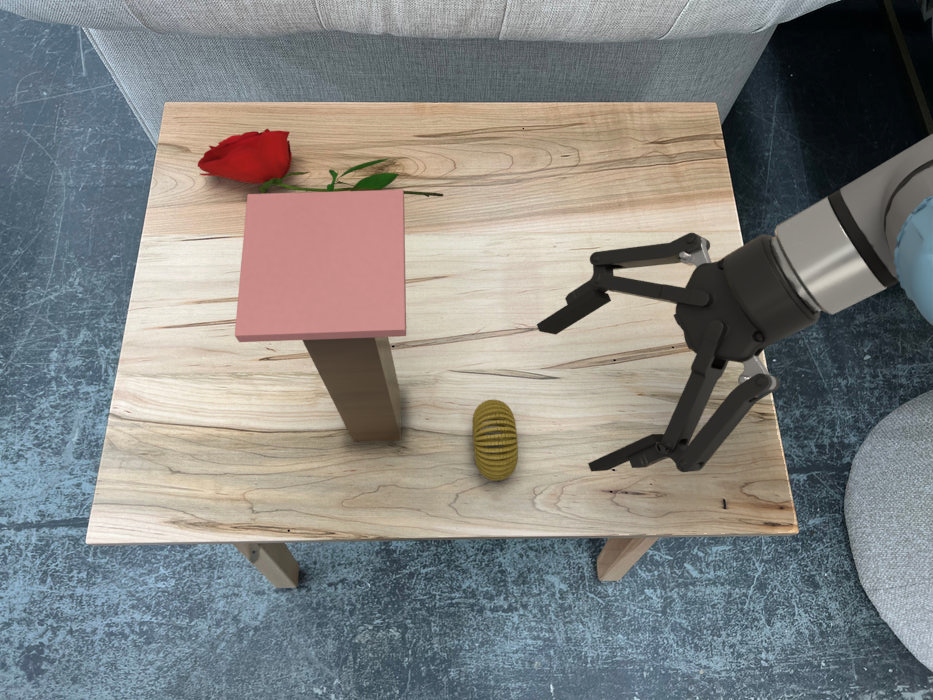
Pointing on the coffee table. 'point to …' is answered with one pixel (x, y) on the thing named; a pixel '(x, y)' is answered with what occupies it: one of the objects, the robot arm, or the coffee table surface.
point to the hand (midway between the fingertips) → (570, 395)
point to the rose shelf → (322, 266)
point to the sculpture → (495, 440)
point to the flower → (276, 164)
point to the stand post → (361, 384)
